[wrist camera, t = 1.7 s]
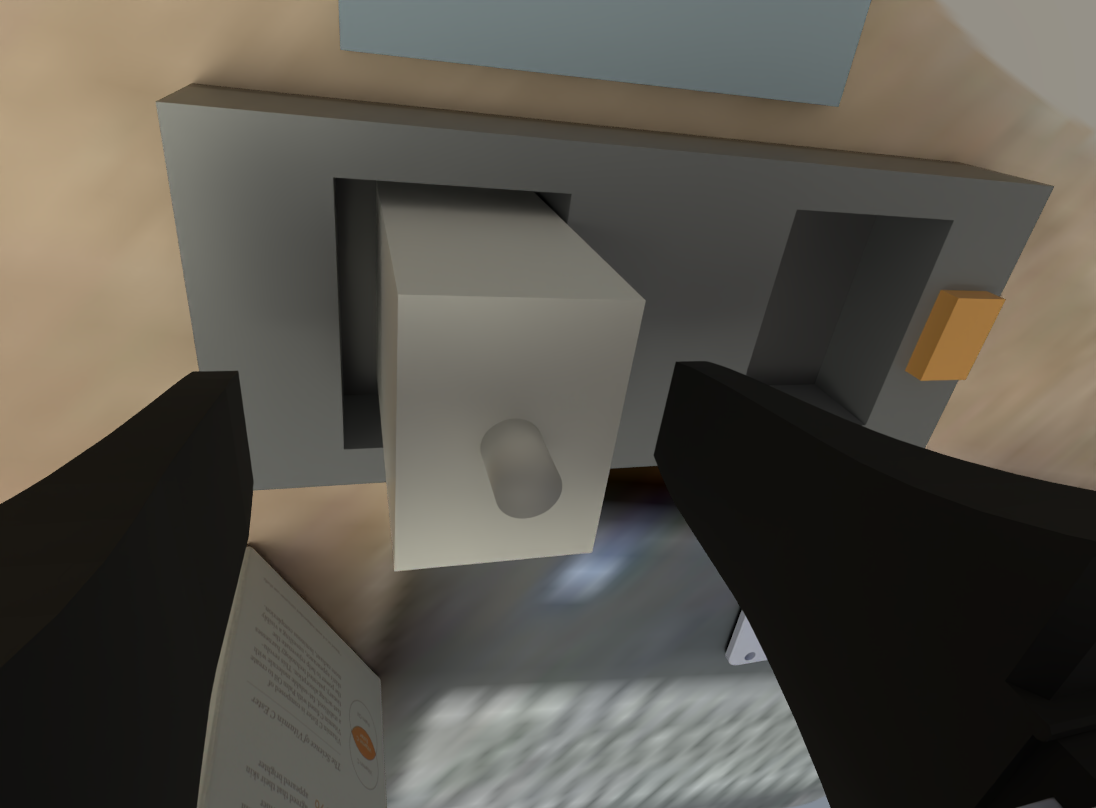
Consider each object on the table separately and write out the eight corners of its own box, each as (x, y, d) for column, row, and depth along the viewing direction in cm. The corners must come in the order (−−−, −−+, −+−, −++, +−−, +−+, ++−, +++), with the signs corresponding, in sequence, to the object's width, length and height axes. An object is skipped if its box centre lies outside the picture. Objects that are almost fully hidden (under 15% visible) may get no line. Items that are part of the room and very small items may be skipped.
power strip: (947, 159, 19) (1076, 192, 16) (851, 393, 23) (938, 460, 20) (195, 81, 13) (146, 106, 10) (239, 411, 17) (214, 509, 14)
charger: (532, 191, 15) (680, 334, 9) (511, 376, 18) (614, 601, 11) (376, 179, 14) (404, 332, 8) (376, 377, 17) (399, 627, 10)
